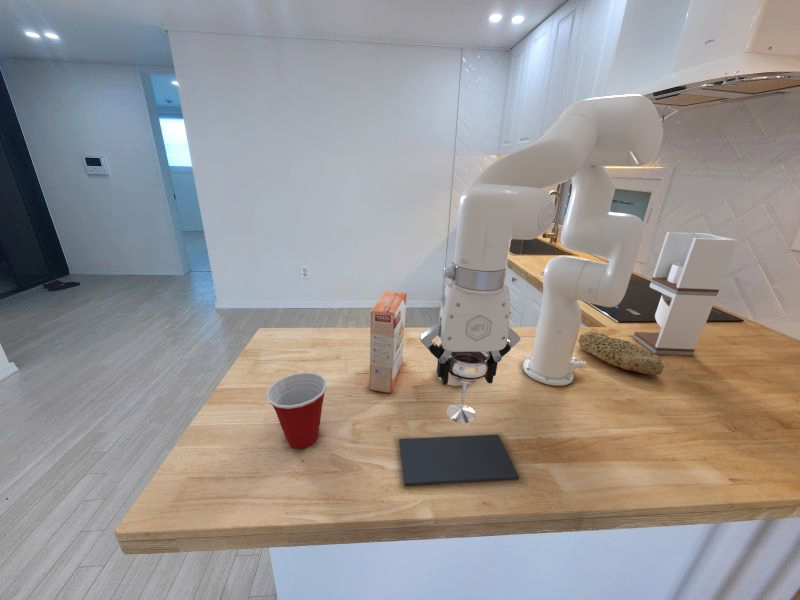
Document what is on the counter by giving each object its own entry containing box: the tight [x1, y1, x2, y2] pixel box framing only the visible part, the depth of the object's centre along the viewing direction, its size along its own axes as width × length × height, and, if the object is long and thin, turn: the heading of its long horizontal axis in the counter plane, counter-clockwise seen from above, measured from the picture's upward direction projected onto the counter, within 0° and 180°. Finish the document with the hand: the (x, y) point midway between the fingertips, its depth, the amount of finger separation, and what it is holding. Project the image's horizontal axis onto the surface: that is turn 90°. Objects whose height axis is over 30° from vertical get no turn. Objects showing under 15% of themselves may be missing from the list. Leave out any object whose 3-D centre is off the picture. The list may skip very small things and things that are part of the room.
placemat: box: [398, 434, 520, 487], centre depth 62 cm, size 20×10×1 cm, turn 95°
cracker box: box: [368, 290, 407, 394], centre depth 82 cm, size 14×6×21 cm, turn 168°
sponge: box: [578, 330, 665, 376], centre depth 95 cm, size 13×8×20 cm
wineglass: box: [446, 352, 490, 424], centre depth 56 cm, size 7×7×12 cm
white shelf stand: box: [632, 231, 740, 356], centre depth 100 cm, size 11×11×35 cm
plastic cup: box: [265, 371, 328, 450], centre depth 63 cm, size 11×11×12 cm
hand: (465, 378), depth 56 cm, fingers closed on wineglass, 6 cm apart
